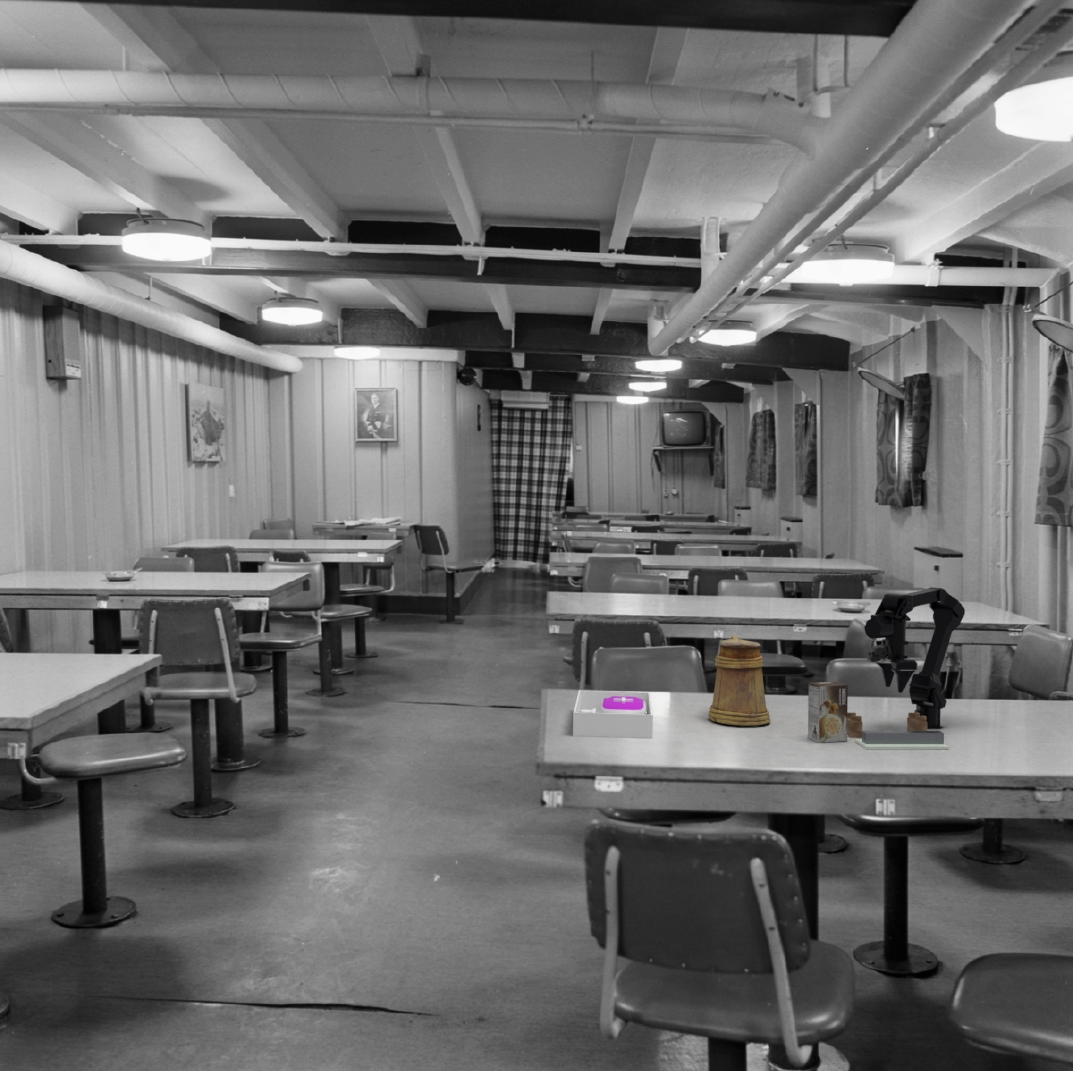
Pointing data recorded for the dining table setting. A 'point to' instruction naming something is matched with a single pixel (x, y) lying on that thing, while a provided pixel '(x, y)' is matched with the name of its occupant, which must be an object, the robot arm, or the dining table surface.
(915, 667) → the robot arm
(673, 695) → the dining table surface
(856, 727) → the post
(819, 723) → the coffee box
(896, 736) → the rail
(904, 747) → the pad
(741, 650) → the tankard
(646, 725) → the light grey open box
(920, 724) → the post
